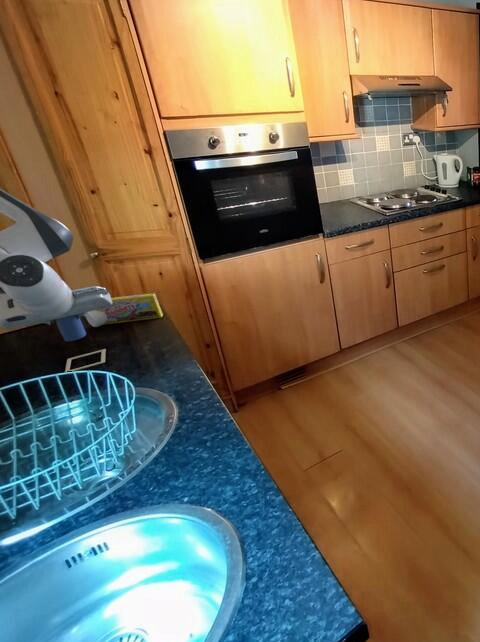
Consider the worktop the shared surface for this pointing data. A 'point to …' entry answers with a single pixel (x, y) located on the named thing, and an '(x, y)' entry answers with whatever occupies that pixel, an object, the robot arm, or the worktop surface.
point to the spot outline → (87, 365)
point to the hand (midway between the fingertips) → (67, 318)
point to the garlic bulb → (96, 318)
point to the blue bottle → (71, 327)
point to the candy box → (132, 308)
